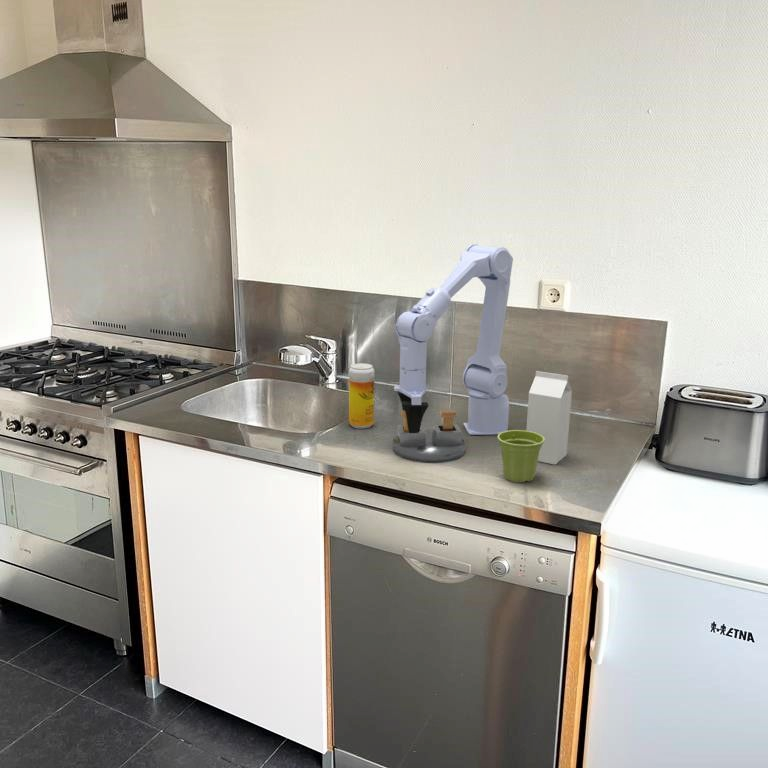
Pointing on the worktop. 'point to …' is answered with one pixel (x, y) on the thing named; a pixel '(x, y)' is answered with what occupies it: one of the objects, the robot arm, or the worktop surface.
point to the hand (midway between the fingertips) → (411, 427)
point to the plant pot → (520, 454)
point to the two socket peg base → (431, 442)
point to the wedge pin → (405, 421)
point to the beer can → (361, 395)
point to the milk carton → (550, 414)
